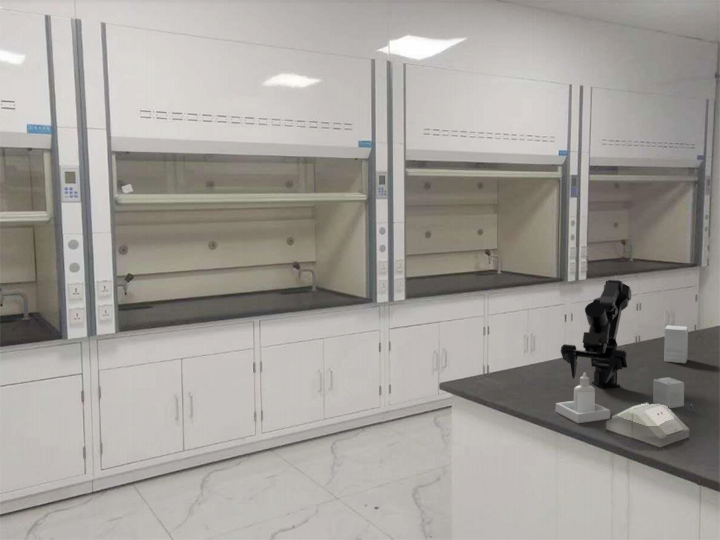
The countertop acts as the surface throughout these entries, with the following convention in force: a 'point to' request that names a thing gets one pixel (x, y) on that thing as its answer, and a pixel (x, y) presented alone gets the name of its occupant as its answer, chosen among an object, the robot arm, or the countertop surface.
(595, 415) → the square tray
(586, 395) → the eye dropper bottle
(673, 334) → the supplement box
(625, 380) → the countertop surface
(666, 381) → the skincare box
